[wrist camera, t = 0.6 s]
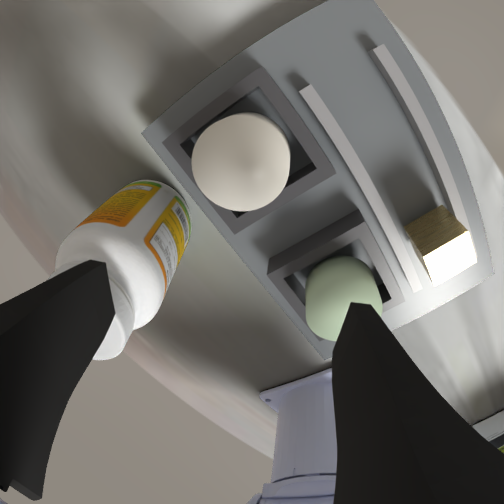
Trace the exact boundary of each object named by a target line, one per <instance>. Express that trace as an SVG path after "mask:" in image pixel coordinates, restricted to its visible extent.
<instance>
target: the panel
mask: <svg viewBox="0 0 504 504" xmlns="http://www.w3.org/2000/svg"><path fill="white" fill-rule="evenodd" d="M242 112H253V113H258V114H262V115H264V116H267V117H268V118H270V119H272V120H273V121H275V122H276V123H277V124H278V125H279V126H280V127H281V128H282V130H283V131H284V133H285V134H286V136H287V139H288V142H289V145H290V170H289V176H288V180H287V182H286V185H285V187H284V188H283V190H282V192H281V193H280V194H279V195H278V197H276V198H275V199H274V200H273V201H272V202H270V203H269V204H267V205H266V206H264V207H261V208H259V209H256V210H252V211H233V210H229V209H226V208H223V207H221V206H219V205H217V204H215V203H214V202H212V201H211V200H210V199H208V198H207V197H206V196H205V195H204V194H203V192H202V191H201V190H200V188H199V187H198V185H197V183H196V181H195V178H194V176H193V171H192V153H193V149H194V146H195V144H196V142H197V140H198V138H199V137H200V135H201V134H202V133H203V132H204V131H205V130H206V129H207V128H208V127H209V126H211V125H212V124H214V123H215V122H217V121H219V120H222V119H224V118H226V117H229V116H231V115H234V114H237V113H242ZM141 134H142V135H143V137H144V138H145V139H146V140H147V142H148V143H149V144H150V146H151V147H152V148H153V149H154V151H155V152H156V153H157V154H158V156H159V157H160V158H161V159H162V161H163V162H164V163H165V165H166V166H167V167H168V168H169V170H170V171H171V172H172V173H173V175H174V176H175V177H176V178H177V180H178V181H179V182H180V183H181V185H182V186H183V187H184V188H185V190H186V191H187V192H188V193H189V195H190V196H191V197H192V199H193V200H194V201H195V202H196V204H197V205H198V206H199V207H200V209H201V210H202V211H203V212H204V213H205V215H206V216H207V217H208V218H209V220H210V221H211V222H212V223H213V225H214V226H215V227H216V228H217V230H218V231H219V232H220V233H221V235H222V236H223V237H224V238H225V240H226V241H227V242H228V243H229V245H230V246H231V247H232V248H233V249H234V251H235V252H236V253H237V254H238V256H239V257H240V258H241V259H242V261H243V262H244V263H245V264H246V266H247V267H248V268H249V269H250V270H251V272H252V273H253V274H254V275H255V277H256V278H257V279H258V280H259V281H260V283H261V284H262V285H263V286H264V288H265V289H266V290H267V291H268V293H269V294H270V295H271V296H272V297H273V299H274V300H275V301H276V302H277V303H278V305H279V306H280V307H281V308H282V310H283V311H284V312H285V313H286V314H287V316H288V317H289V318H290V319H291V321H292V322H293V323H294V324H295V325H296V327H297V328H298V329H299V330H300V331H301V333H302V334H303V335H304V336H305V337H306V339H307V340H308V341H309V342H310V344H311V345H312V346H313V347H314V348H315V350H316V351H317V352H318V353H319V354H320V356H321V357H322V358H323V359H324V360H326V359H328V358H331V357H332V351H333V349H334V346H335V343H336V341H330V340H326V339H324V338H321V337H319V336H318V335H316V334H315V333H314V332H313V331H312V330H311V329H310V327H309V326H308V324H307V321H306V299H305V284H306V279H307V277H308V275H309V273H310V271H311V270H312V269H313V268H314V267H315V266H316V265H317V264H318V263H320V262H321V261H323V260H325V259H327V258H330V257H334V256H352V257H355V258H358V259H360V260H361V261H363V262H364V263H366V264H367V265H368V267H369V268H370V269H371V271H372V273H373V276H374V279H375V282H376V285H377V288H378V291H379V294H380V297H381V300H382V305H383V310H382V315H381V318H382V320H383V321H384V323H385V324H386V325H387V327H388V328H389V330H390V331H392V330H395V329H397V328H399V327H401V326H403V325H405V324H407V323H409V322H411V321H413V320H415V319H417V318H419V317H421V316H422V315H424V314H426V313H428V312H430V311H432V310H434V309H436V308H438V307H439V306H441V305H443V304H445V303H447V302H448V301H450V300H452V299H454V298H456V297H457V296H459V295H461V294H462V293H464V292H466V291H468V290H469V289H471V288H473V287H474V286H476V285H478V284H479V283H481V282H482V281H484V280H486V279H487V278H489V277H490V276H492V275H494V269H493V263H492V258H491V254H490V249H489V244H488V240H487V236H486V232H485V228H484V224H483V220H482V217H481V213H480V210H479V206H478V203H477V200H476V196H475V193H474V190H473V187H472V184H471V181H470V178H469V175H468V172H467V170H466V167H465V164H464V161H463V159H462V156H461V154H460V151H459V149H458V146H457V144H456V141H455V139H454V137H453V134H452V132H451V130H450V127H449V125H448V123H447V121H446V119H445V116H444V114H443V112H442V110H441V108H440V106H439V104H438V102H437V100H436V98H435V96H434V94H433V92H432V90H431V88H430V86H429V85H428V83H427V81H426V79H425V77H424V75H423V74H422V72H421V70H420V68H419V67H418V65H417V63H416V62H415V60H414V58H413V57H412V55H411V53H410V52H409V50H408V49H407V47H406V45H405V44H404V42H403V41H402V39H401V38H400V36H399V35H398V33H397V32H396V30H395V29H394V27H393V26H392V24H391V23H390V22H389V20H388V19H387V17H386V16H385V15H384V13H383V12H382V11H381V9H380V8H379V7H378V5H377V4H376V3H375V1H374V0H328V1H326V2H324V3H322V4H320V5H318V6H316V7H314V8H313V9H311V10H309V11H307V12H305V13H303V14H302V15H300V16H298V17H296V18H295V19H293V20H291V21H289V22H288V23H286V24H284V25H283V26H281V27H279V28H278V29H276V30H274V31H273V32H271V33H270V34H268V35H266V36H265V37H263V38H262V39H260V40H259V41H257V42H255V43H254V44H252V45H251V46H249V47H248V48H246V49H245V50H244V51H242V52H241V53H239V54H238V55H236V56H235V57H233V58H232V59H231V60H229V61H228V62H226V63H225V64H224V65H222V66H221V67H220V68H218V69H217V70H215V71H214V72H213V73H211V74H210V75H209V76H208V77H206V78H205V79H204V80H202V81H201V82H200V83H199V84H197V85H196V86H195V87H193V88H192V89H191V90H190V91H189V92H187V93H186V94H185V95H184V96H182V97H181V98H180V99H179V100H178V101H176V102H175V103H174V104H173V105H172V106H171V107H169V108H168V109H167V110H166V111H165V112H164V113H163V114H161V115H160V116H159V117H158V118H157V119H156V120H155V121H154V122H152V123H151V124H150V125H149V126H148V127H147V128H146V129H145V130H144V131H143V132H142V133H141ZM440 205H443V206H444V207H445V208H446V209H447V210H448V211H449V212H450V213H451V214H452V215H453V216H454V217H455V218H456V219H457V220H458V221H459V222H460V223H461V224H462V225H463V226H464V227H465V228H466V229H467V230H468V231H469V234H470V238H471V242H472V245H473V249H474V253H475V257H476V261H477V262H476V263H474V264H472V265H471V266H469V267H467V268H466V269H464V270H462V271H461V272H459V273H457V274H456V275H454V276H452V277H450V278H449V279H447V280H445V281H443V282H442V283H440V284H438V285H436V286H434V285H433V283H432V281H431V279H430V278H429V276H428V274H427V272H426V271H425V269H424V267H423V265H422V264H421V262H420V260H419V259H418V257H417V255H416V254H415V252H414V249H413V247H412V245H411V242H410V240H409V238H408V236H407V233H406V231H405V229H404V226H405V225H407V224H409V223H411V222H413V221H414V220H416V219H418V218H419V217H421V216H423V215H425V214H426V213H428V212H430V211H432V210H433V209H435V208H437V207H438V206H440Z"/></svg>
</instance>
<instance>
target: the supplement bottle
mask: <svg viewBox="0 0 504 504" xmlns="http://www.w3.org/2000/svg"><path fill="white" fill-rule="evenodd" d="M191 228H192V221H191V215H190V211H189V209H188V206H187V204H186V203H185V201H184V199H183V198H182V197H181V196H180V195H179V194H178V193H177V192H176V191H175V190H174V189H173V188H171V187H170V186H168V185H166V184H164V183H161V182H158V181H154V180H139V181H135V182H132V183H130V184H128V185H126V186H125V187H123V188H122V189H120V190H119V191H118V192H117V193H115V194H114V195H113V196H112V197H111V198H109V199H108V200H107V201H106V202H105V203H104V204H102V205H101V206H100V207H99V208H98V209H96V210H95V211H94V212H93V213H92V214H91V215H90V216H88V217H87V218H86V219H85V220H84V221H83V222H82V223H80V224H79V225H78V226H77V227H76V228H75V229H74V230H73V231H72V232H71V233H70V234H69V235H68V236H67V237H66V238H65V239H64V241H63V242H62V244H61V245H60V247H59V250H58V252H57V256H56V262H55V271H54V272H53V273H52V275H51V276H50V277H49V278H48V280H49V279H51V278H53V277H54V276H56V275H58V274H60V273H62V272H64V271H66V270H68V269H70V268H72V267H74V266H76V265H78V264H80V263H83V262H85V261H88V260H90V259H91V260H96V261H101V262H106V266H107V272H108V277H109V283H110V288H111V293H112V298H113V303H114V308H115V312H116V314H115V316H114V318H113V321H112V323H111V325H110V328H109V330H108V332H107V334H106V336H105V338H104V340H103V342H102V344H101V345H100V347H99V349H98V350H97V352H96V353H95V355H94V357H93V358H92V359H95V360H107V359H111V358H114V357H116V356H117V355H119V354H120V353H121V352H122V350H123V349H124V347H125V345H126V343H127V341H128V338H129V336H130V335H131V333H132V331H133V330H135V329H138V328H140V327H142V326H144V325H146V324H147V323H148V322H149V321H150V320H151V319H152V318H153V317H154V316H155V315H156V313H157V312H158V310H159V308H160V306H161V304H162V301H163V299H164V296H165V294H166V292H167V289H168V287H169V284H170V282H171V280H172V278H173V275H174V273H175V271H176V268H177V266H178V264H179V261H180V259H181V257H182V255H183V252H184V250H185V248H186V246H187V244H188V241H189V238H190V234H191Z"/></svg>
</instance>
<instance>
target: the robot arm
mask: <svg viewBox="0 0 504 504" xmlns="http://www.w3.org/2000/svg"><path fill="white" fill-rule="evenodd" d="M115 314H116V312H115V308H114V303H113V298H112V293H111V288H110V283H109V277H108V272H107V266H106V262H101V261H96V260H91V259H90V260H88V261H85V262H83V263H80V264H78V265H76V266H74V267H72V268H70V269H68V270H66V271H64V272H62V273H60V274H58V275H56V276H54V277H53V278H51V279H49V280H47V281H45V282H43V283H42V284H39V285H38V286H36V287H34V288H32V289H30V290H28V291H26V292H24V293H22V294H20V295H18V296H16V297H14V298H12V299H10V300H9V301H6V302H4V303H2V304H0V489H1V490H3V491H4V492H6V491H7V490H8V488H9V486H11V487H13V488H14V489H15V490H17V491H19V492H20V493H22V494H23V495H25V496H26V497H28V498H29V499H31V500H39V499H41V498H42V492H43V485H44V479H45V473H46V467H47V463H48V459H49V455H50V451H51V447H52V444H53V440H54V437H55V435H56V431H57V429H58V426H59V423H60V420H61V418H62V415H63V413H64V410H65V408H66V405H67V403H68V400H69V398H70V396H71V394H72V392H73V390H74V389H75V387H76V385H77V383H78V381H79V380H80V378H81V377H82V375H83V373H84V372H85V370H86V368H87V367H88V365H89V363H90V362H91V360H92V358H93V357H94V355H95V353H96V352H97V350H98V349H99V347H100V345H101V344H102V342H103V340H104V338H105V336H106V334H107V332H108V330H109V328H110V325H111V323H112V321H113V318H114V316H115ZM259 397H260V399H261V400H263V401H264V402H265V403H266V404H267V405H269V406H270V407H271V408H272V409H273V410H275V411H276V412H277V413H278V420H277V430H276V440H275V450H274V459H273V468H272V477H271V483H265V484H264V485H263V492H262V493H258V494H255V495H254V496H253V497H252V498H251V499H250V500H249V501H248V502H247V504H504V453H503V452H501V451H500V450H499V449H497V448H496V447H495V446H494V445H492V444H491V443H490V442H489V441H487V440H486V439H485V438H484V437H483V436H482V435H480V434H479V433H478V432H477V431H476V430H475V429H474V428H473V427H472V426H471V425H469V424H468V423H467V422H466V421H465V420H464V419H463V418H462V417H461V416H460V415H459V414H458V413H457V412H456V411H455V410H454V409H453V408H452V407H451V406H450V404H449V403H448V402H447V401H446V400H445V399H444V398H443V397H442V396H441V395H440V394H439V393H438V391H437V390H436V389H435V388H434V387H433V386H432V384H431V383H430V382H429V381H428V379H427V378H426V377H425V376H424V375H423V373H422V372H421V371H420V370H419V368H418V367H417V366H416V365H415V363H414V362H413V361H412V359H411V358H410V357H409V355H408V354H407V353H406V351H405V350H404V349H403V347H402V346H401V345H400V343H399V342H398V341H397V339H396V338H395V336H394V335H393V334H392V332H391V331H390V330H389V328H388V327H387V325H386V324H385V323H384V321H383V320H382V318H381V317H380V316H379V314H378V313H377V312H376V310H375V309H374V308H373V307H372V305H371V304H364V303H356V302H351V303H350V306H349V308H348V311H347V314H346V317H345V320H344V322H343V325H342V328H341V330H340V333H339V336H338V338H337V341H336V343H335V346H334V349H333V351H332V368H330V369H327V370H325V371H322V372H319V373H316V374H314V375H311V376H308V377H305V378H303V379H300V380H297V381H294V382H291V383H288V384H285V385H282V386H279V387H276V388H273V389H270V390H266V391H263V392H261V393H260V396H259ZM0 504H7V503H6V502H4V501H3V500H2V499H0Z"/></svg>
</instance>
